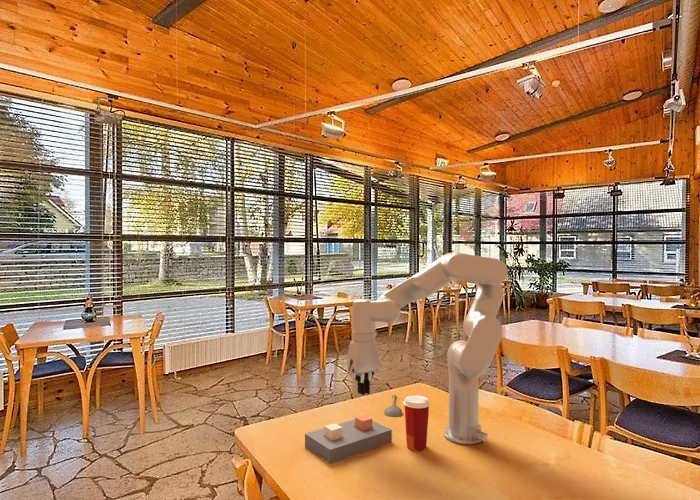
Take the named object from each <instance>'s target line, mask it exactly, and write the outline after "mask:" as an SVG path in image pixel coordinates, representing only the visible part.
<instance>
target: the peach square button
mask: <svg viewBox="0 0 700 500" xmlns="http://www.w3.org/2000/svg"><path fill="white" fill-rule="evenodd" d="M354 419H355V428H357V429H359V430H361V431H365V430H369V429H372V420H373V417H370V416H368V415H365V414H363V415H358V416H355V418H354Z"/></svg>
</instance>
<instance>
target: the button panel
mask: <svg viewBox="0 0 700 500" xmlns="http://www.w3.org/2000/svg"><path fill="white" fill-rule="evenodd" d="M336 424H337V425H339V426H341V427H342V438H340V439H337V440H333V441H330V440H329V439H327V438H325V437H324V427H323V428H320V429H316V430H313V431H310V432H306V433H304V448H307V449H308V450H309V451H311V452H312V453H314V454H315V455H316V456H318V457H320V459H322V460H324V461H326V462H327V463H329V464H333V463H336V462H339V461H342V460H344V459H347V458H350V457H353V456H356V455H359V454H361V453H365V452H367V451H371V450H373V449H377V448H380V447H383V446H385V445H387V444H390V443H392V442H393V440H392V439H393V437H392V436H393V435H392V434H393V433H392V432H393V430H392V429H391V428H389V427H387V426H385V425H383V424H381V423H378V422H376V421H374V420H373V419H372V429H369V430H365V431H361V430H359V429H357V428H355V418H354V419H352V420H349V421H344V422H341V423H336Z"/></svg>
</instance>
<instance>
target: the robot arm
mask: <svg viewBox="0 0 700 500" xmlns="http://www.w3.org/2000/svg"><path fill="white" fill-rule="evenodd" d="M508 272H509V271H508V268H507V265H506V264H505V262H503V261H502V260H501V259H499V258H495V257H494V258H493V257H488V256H480V255H474V254H468V253H462V252H448V253H445V254H444V255H441V256H440V257H439V258H438V259H436V260H435V261H434V262H432V263H430V264H428V266H426V267H424V268H422V270H420V271H419V272H417V273H416V274H413V275H412V276H410V277H408V278H407V279H405V280H404V281H401V283H398V284H397V285H395V286H393V287H392V288H391V289H389V290H388V291H386V292H384V293H383V294H382V295H380V296H379V297H378V298H377V299H376V300H374V299H372V298H356V299H354V300H353V301H352V320H351V321H352V325H351V326H352V328H351V329H352V331H351V332H352V333H351V335H352V340H351V341H350V343H349V346H348V350H347V351H348V352H347V353H348V354H347V365H346V366H347V371H348V377H349V378H352V379H355V381H356V382H357V393H358V394H359V395H362V396H365V395H366V394H367V395H370V393H371V385H370V384H371V381H372V379H373V376H374V375H375V374H377V373H378V372H379V366H380V365H379V363H380V360H379V359H380V356H379V347H378V346H379V345H378V341H377V340H376V336H378V332H377V331H376V322H380V323H387V324H389V323H393V322H396V321H397V320H398V319H399V318H400V316H401V309H402V308H404V307H406V306H407V305H408V304H410V303H413V302H415V301H418V300H423V299H426V298H429V297H430V296H433V295H434V294H435V293H437V292H438V291H439V290H441V289H443V288H444V287H445V286H448V284H450V283H452V282H453V281H454V280H459V281H464V282H469V283H475V286H476V291H475V292H476V293H475V296H474V298H473V301H472V304H471V306H470V308H469V310H468V313H467V314H466V316H465V319H464V321H463V324H462V330H463V332H464V333H465V335H466V336H467V337H468V339H467V340H463V339H462V340H461V339H459V340H456V341H453V342H452V343H451V344H450V345H449V347H448V349H447V353H446V360H447V369H448V427H446V428H445V429H444V431H443V435H444V437H445V438H446V439H447V440H448V441H450V442H453V443H457V444H461V445H474V444H475V445H476V444H479V443H481V442H486V441H487V438H488V436H489V434H488V432H485V431H482V425H481V424H479V404H480V403H479V391H480V389H479V388H480V387H479V377H481V376H483V375H484V374H485V373H486V372H487V371H488V369H489V367H490V365H491V363H492V361H493V358H494V357H495V354H496V353H497V350H498V348H499V346H500V343H501V340H502V337H503V327H502V326H503V325H502V324H501V322H500V321H499V320H498V318H497V315H498V314H499V310H500V308H501V305H502V302H503V297H504V291H503V285H502V284H503V282H505V281H506V279H507V277H508Z"/></svg>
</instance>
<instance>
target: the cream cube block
mask: <svg viewBox="0 0 700 500" xmlns="http://www.w3.org/2000/svg"><path fill="white" fill-rule="evenodd" d="M337 424H338V423H330V424H327V425H324V426H323V428H324V437H325V438H327V439H329V440H330V441H333V440H337V439H340V438H342V427H341V426H339V425H337Z"/></svg>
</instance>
